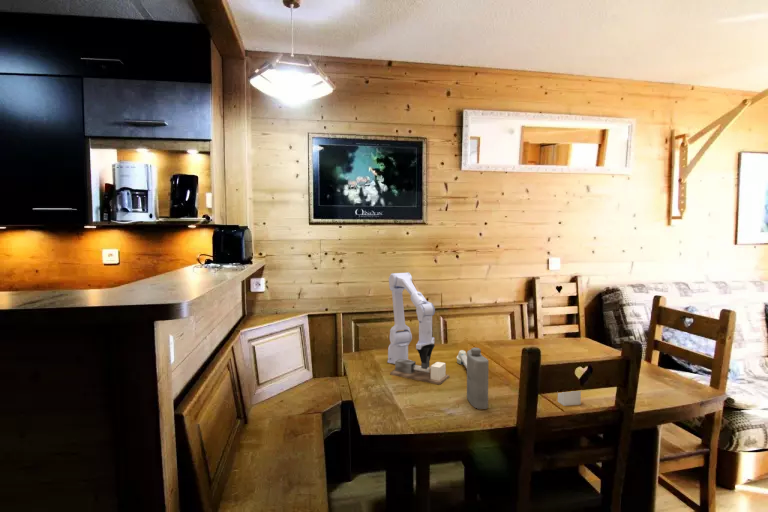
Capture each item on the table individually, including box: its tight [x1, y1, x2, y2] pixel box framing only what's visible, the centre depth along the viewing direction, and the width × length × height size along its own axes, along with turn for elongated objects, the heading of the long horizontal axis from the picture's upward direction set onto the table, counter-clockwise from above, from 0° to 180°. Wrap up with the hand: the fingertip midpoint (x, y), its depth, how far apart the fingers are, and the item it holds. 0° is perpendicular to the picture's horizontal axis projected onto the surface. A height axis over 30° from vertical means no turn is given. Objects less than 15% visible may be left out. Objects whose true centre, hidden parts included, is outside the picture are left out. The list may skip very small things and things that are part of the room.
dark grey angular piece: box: [412, 355, 431, 374], centre depth 173 cm, size 14×3×8 cm, turn 59°
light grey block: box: [557, 390, 582, 407], centre depth 145 cm, size 4×7×10 cm, turn 99°
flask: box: [466, 347, 489, 410], centre depth 146 cm, size 15×6×20 cm, turn 2°
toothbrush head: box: [456, 349, 467, 369], centre depth 181 cm, size 5×7×25 cm
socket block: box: [430, 361, 447, 381], centre depth 169 cm, size 4×7×6 cm, turn 149°
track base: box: [389, 359, 450, 386], centre depth 174 cm, size 24×10×5 cm, turn 59°
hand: (425, 361), depth 172 cm, fingers closed on dark grey angular piece, 3 cm apart
